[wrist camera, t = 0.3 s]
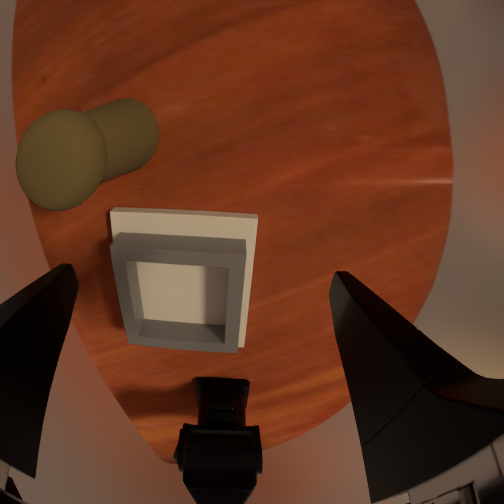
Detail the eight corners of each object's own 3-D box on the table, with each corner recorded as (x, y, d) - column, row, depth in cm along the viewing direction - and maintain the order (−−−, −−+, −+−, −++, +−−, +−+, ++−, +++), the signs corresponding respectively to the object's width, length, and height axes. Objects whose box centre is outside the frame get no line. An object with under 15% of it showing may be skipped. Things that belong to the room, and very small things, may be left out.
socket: (243, 340, 30) (244, 365, 27) (132, 331, 29) (124, 354, 26) (257, 214, 24) (260, 232, 21) (114, 207, 23) (97, 223, 20)
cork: (96, 178, 21) (17, 235, 12) (85, 108, 19) (-8, 125, 9) (163, 167, 21) (107, 221, 12) (155, 91, 19) (85, 85, 9)
